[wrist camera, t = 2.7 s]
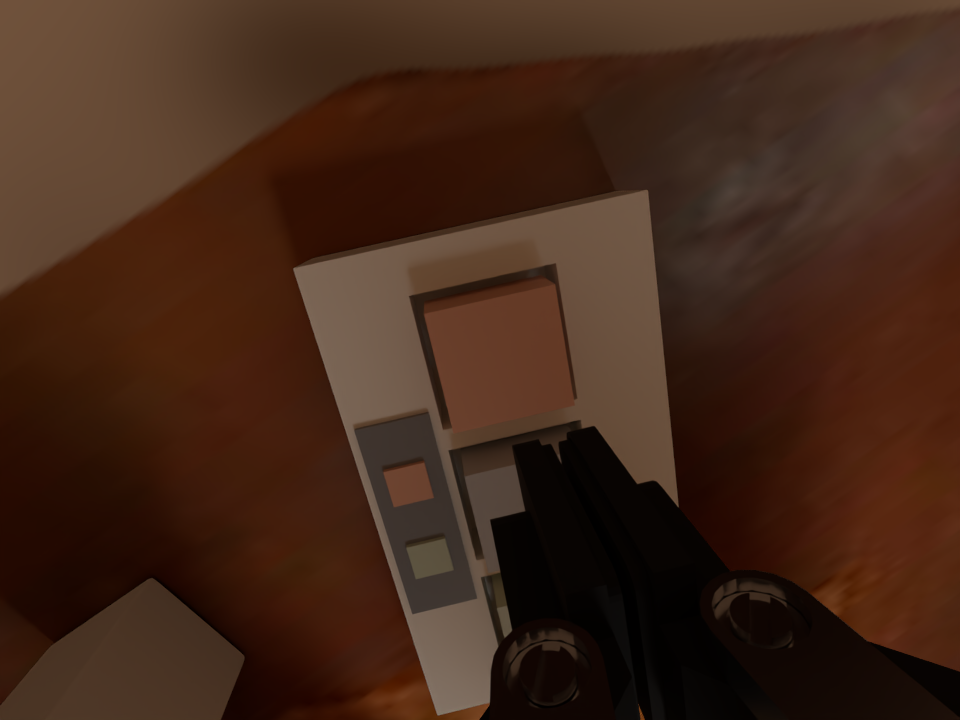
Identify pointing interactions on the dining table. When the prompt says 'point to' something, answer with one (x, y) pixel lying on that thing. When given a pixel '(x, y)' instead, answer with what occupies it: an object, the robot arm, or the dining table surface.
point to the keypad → (437, 450)
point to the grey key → (499, 481)
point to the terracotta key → (500, 352)
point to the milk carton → (132, 666)
